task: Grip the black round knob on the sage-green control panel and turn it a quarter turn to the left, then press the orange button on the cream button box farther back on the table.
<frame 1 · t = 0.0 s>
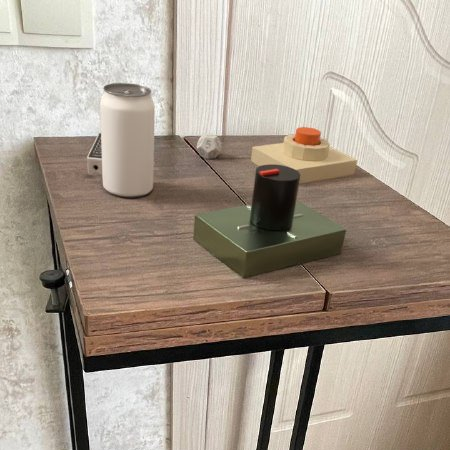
button box: (302, 168, 94), on the table
knob: (274, 196, 68), point 6 cm above the table, hinge at 0.0°
can: (128, 190, 82), on the table
panel: (267, 246, 72), on the table
button: (307, 137, 91), point 4 cm above the table, slide at 0.1 cm
game die: (208, 157, 94), on the table
multiport hub: (109, 163, 89), on the table
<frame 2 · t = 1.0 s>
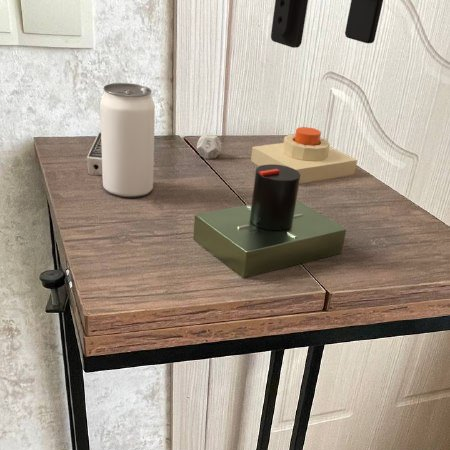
hand: (323, 42, 56), 21 cm above the table, tool pointing down, fingers open, 9 cm apart
nothing on the table moved.
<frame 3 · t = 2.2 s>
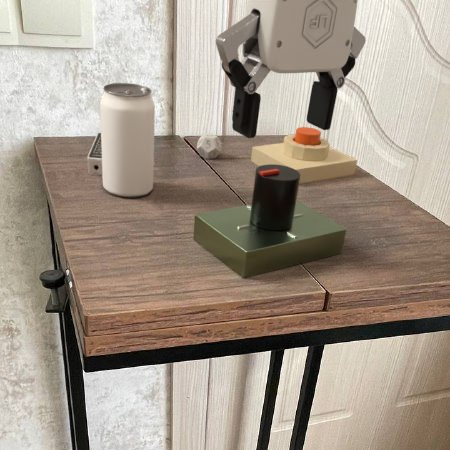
hand: (281, 129, 64), 13 cm above the table, tool pointing down, fingers open, 9 cm apart
nothing on the table moved.
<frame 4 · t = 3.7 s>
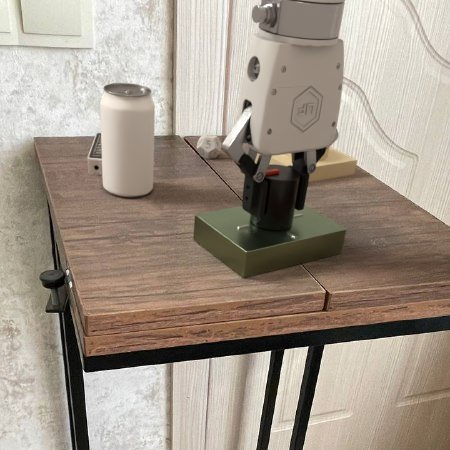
hand: (273, 207, 69), 5 cm above the table, tool pointing down, fingers closed on knob, 4 cm apart
knob: (274, 196, 68), point 6 cm above the table, hinge at -0.2°, touching gripper
everything else where it was.
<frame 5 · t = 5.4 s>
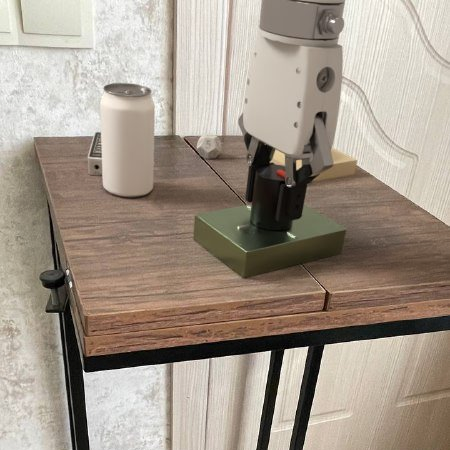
hand: (272, 208, 69), 5 cm above the table, tool pointing down, fingers closed on knob, 4 cm apart
knob: (274, 196, 68), point 6 cm above the table, hinge at 89.5°, touching gripper
everything else where it was.
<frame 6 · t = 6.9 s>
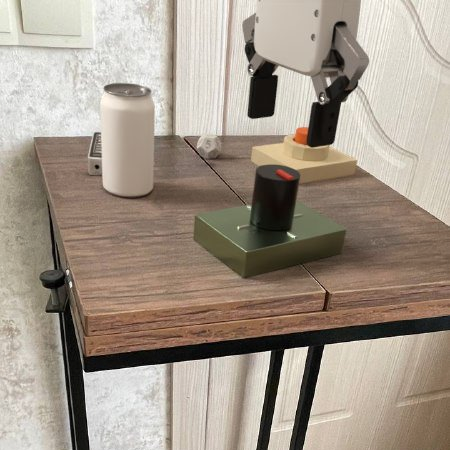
hand: (288, 130, 64), 13 cm above the table, tool pointing down, fingers open, 9 cm apart
knob: (274, 196, 68), point 6 cm above the table, hinge at 87.3°
everything else where it was.
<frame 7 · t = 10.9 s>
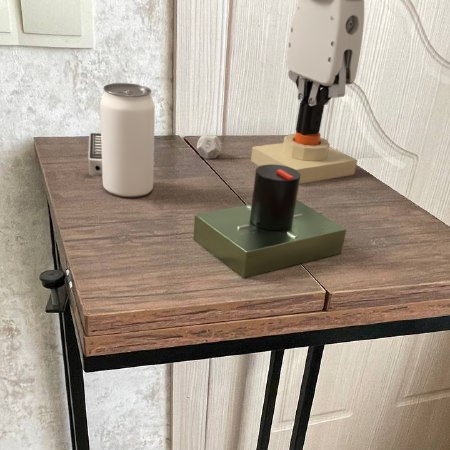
hand: (307, 132, 91), 5 cm above the table, tool pointing down, fingers closed
button: (307, 139, 91), point 4 cm above the table, slide at -0.2 cm, touching gripper
everything else where it was.
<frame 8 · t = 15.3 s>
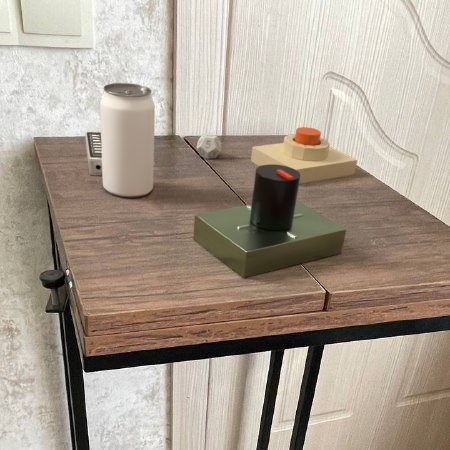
button: (307, 137, 91), point 4 cm above the table, slide at 0.1 cm
everything else where it was.
at the end: knob at +87° (first picture: +0°); button pushed in 1.1 cm at the most during the clip, back to where it started at the end; button slide at 0.1 cm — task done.
